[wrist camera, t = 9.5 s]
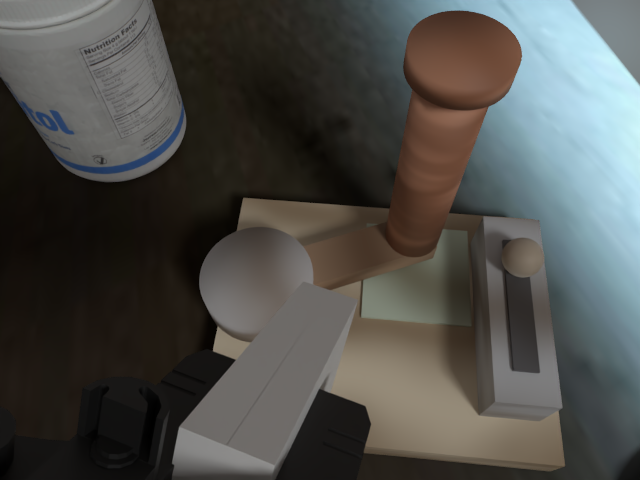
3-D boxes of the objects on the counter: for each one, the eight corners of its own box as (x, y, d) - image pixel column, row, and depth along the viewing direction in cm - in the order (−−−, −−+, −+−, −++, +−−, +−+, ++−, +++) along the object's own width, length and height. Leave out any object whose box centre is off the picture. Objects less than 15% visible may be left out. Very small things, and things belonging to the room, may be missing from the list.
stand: (247, 214, 35) (230, 145, 29) (524, 236, 35) (568, 168, 28) (205, 436, 29) (171, 406, 22) (549, 471, 28) (614, 449, 21)
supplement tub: (27, 154, 38) (-123, -43, 25) (114, 70, 42) (23, -136, 29) (135, 210, 36) (30, 24, 23) (216, 115, 40) (165, -88, 27)
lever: (220, 357, 28) (137, 208, 16) (196, 261, 31) (109, 69, 19) (462, 280, 30) (558, 93, 18) (419, 196, 33) (476, -15, 21)
